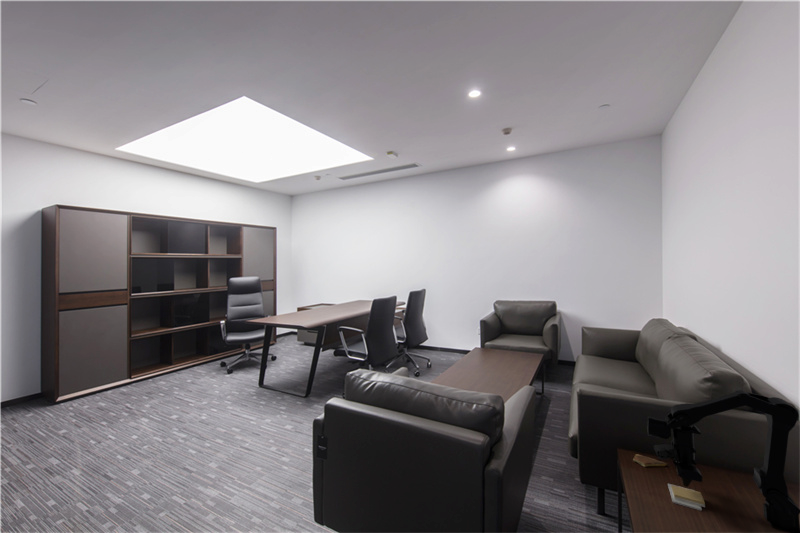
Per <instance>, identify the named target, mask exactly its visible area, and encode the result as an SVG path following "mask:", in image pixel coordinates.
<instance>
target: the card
mask: <svg viewBox="0 0 800 533" xmlns="http://www.w3.org/2000/svg"><path fill="white" fill-rule="evenodd" d="M674 485H675V484H672V485H671V489H672V492H673V496H674V499H676V500H680V501H684V502H687V503H691V504H695V505H698V506H701V508H702V507H703V508H706V503H705V500H704V497H703V496H702V493H701V492H700V491H696V490H694V489H691V490H689V489H690V488H687V489H685V488H686V487H683V486H679V485H675V486H674ZM678 486H679V487H678ZM682 487H683V488H682ZM693 490H694V491H693Z"/></svg>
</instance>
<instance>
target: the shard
mask: <svg viewBox="0 0 800 533" xmlns="http://www.w3.org/2000/svg"><path fill="white" fill-rule="evenodd" d="M632 461H633V462H634V463H637V464H639V465H640V466H643V467H644V468H646V467H665V466H667V465H668V462H664V461H662V460H661V461H660V460H658V459H655V458H652V457H649V456H645V455H641V454H638V453H637V454H634V457H633V458H632Z"/></svg>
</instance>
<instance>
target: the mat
mask: <svg viewBox="0 0 800 533" xmlns="http://www.w3.org/2000/svg"><path fill="white" fill-rule="evenodd" d="M671 485H674V486H676V485H675V484H671V483H667V487H668V490H669V494H670V497H671V501H672V503H673V504H676V505H680V506H683V507H686V508H689V509H690V508H691V509H694V510H697V511H700V512H702V510H703V509H702V506H698V505H695V504H691V503H687V502H684V501H680V500H676V499H674V496H673V492H672V489H671ZM677 486H678V487H680V486H679V485H677ZM681 487H682V488H685V489H689V490H693V491H695V490H694V489H691V488H686V487H683V486H681Z"/></svg>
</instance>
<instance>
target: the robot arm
mask: <svg viewBox="0 0 800 533" xmlns="http://www.w3.org/2000/svg"><path fill="white" fill-rule="evenodd" d="M742 407H749V408H752V409H753V410H756V411H758V412H762V413H764V415H765V417H766V422H767V432H766V439H765V440H766V441H765V449H764V459H763V465H762V467H760V468H758V467H756V466H754V467H753V472H754V474H753V476H752V477H751V478H752V479H753V481H754V483H755V485H756V486H757V487H758V489H759V491H760V492H761V494H762V496H763V497H764V498H765V499H764V501H765V502H764V503H763V504H762V509H763V517H764V518H765V519H766V521H767V522H768V523H769V525H770V526H771V527H772V528H774V529H778V530H782V531H785V532H788V533H800V517H799V516H800V507H799V506H798V505H797V503H796V502H795V501H794V500H793V498H792V496H790V494H789V490H788V485H787V482H786V478H785V470H786V469H785V468H786V460H787V459H786V458H787V452H788V442H789V436H790V435H789V434H790V432H791V431H792V430H793V429H794V428H795V426H796V425H797V422H798V419H799V417H800V416H799V411H798V410H797V409H796V408H794V406H792V405H791V404H790V403H789V402H787V401H786V400H784V399H783V398H781V397H775V396H774V397H768V396H765V395H762V394H758V393H757V394H756V393H753V392H748V391H745V390H742V389H738V390H735V391H734V392H730V393H727V394H723V395H720V396H717V397H714V398H710V399H707V400H703V401H701V402H696V403H694V402H693V403H687V402H686V403H680V404H675V405H672V407H671V409H670V412H669V413H668V414H666V416H664V419H662V418H657V417H653V416H649V415H647V426H646V427H647V436H651V437H655V438H659V439H664V440H668V439H670V438H671V437H672V440H671V441H670V443H671V444H666V443H664V444H655V445H653V449H654V451H655V454H656V456H657V458H658V459H659V461H660V460H661V461H662V460H671V459H672V462H673V465H674V468H675V470H676V473H677V476H678V477H680V479H681V481H682V485H683V486H684V487H685V488H686V487H689V486H690V484H691V483H692V481H694V482H699V483H702V482H703V475H702V473H701V470H699V469H698V468H697V467H696V466H697V461H696V459H695V457H696V453H697V452H696V451H697V450H696V448H695V437H694V434H696V435H702V433H701V430H700V428H698V427H697V426H696V425H695V424H697V423H699V422H700V421H702V420H703V419H705V418H706V417H710V416H714V415H717V414H720V413H724V412H727V411H731V410H734V409H738V408H739V409H740V408H742ZM671 429H672V431H671Z"/></svg>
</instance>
